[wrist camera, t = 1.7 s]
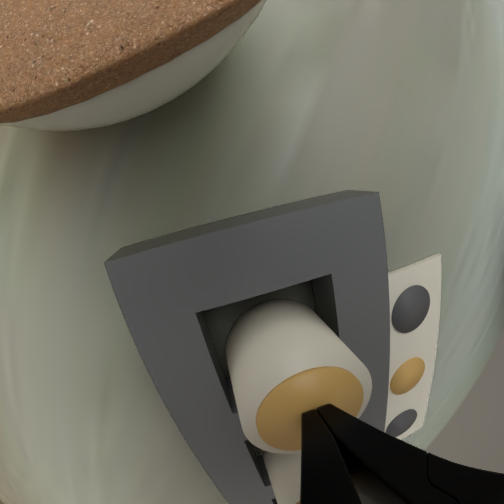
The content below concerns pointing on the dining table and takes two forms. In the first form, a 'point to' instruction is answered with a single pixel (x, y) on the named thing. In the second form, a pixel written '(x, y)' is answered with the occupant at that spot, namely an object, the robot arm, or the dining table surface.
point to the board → (247, 286)
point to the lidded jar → (109, 56)
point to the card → (412, 343)
